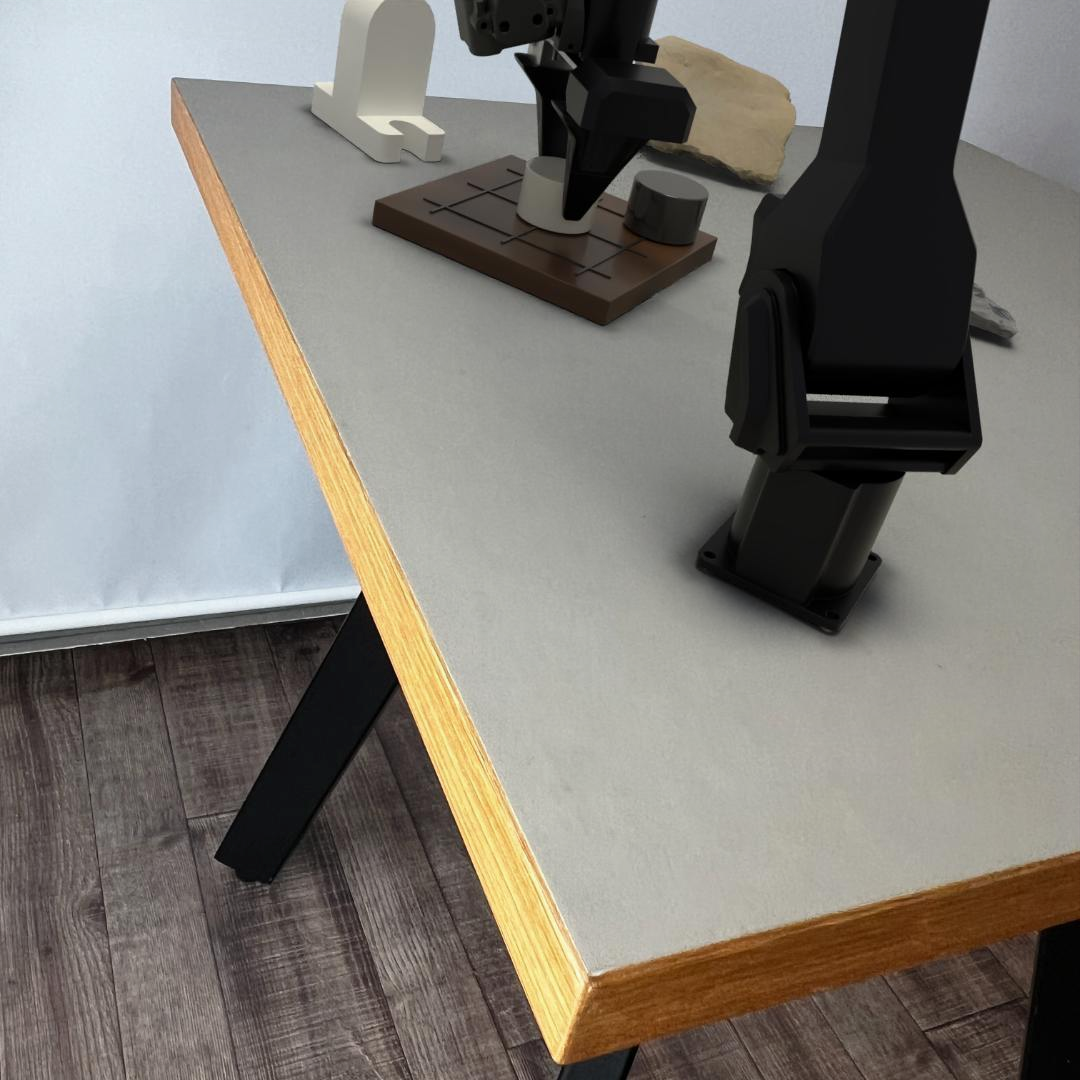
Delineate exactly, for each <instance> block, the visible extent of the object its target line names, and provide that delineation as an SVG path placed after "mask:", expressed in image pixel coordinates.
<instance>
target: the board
mask: <svg viewBox="0 0 1080 1080" xmlns="http://www.w3.org/2000/svg"><path fill="white" fill-rule="evenodd" d="M527 161H528V160H526V159H524V158H521V157H519V156H517V155H514V154H509V155H506V156H502V157H499V158H495V159H494V160H491V161H488V162H485V163H482V164H479V165H476V166H472V167H470V168H466V169H463V170H461V171H458V172H455V173H452V174H449V175H446V176H443V177H441V178H437V179H434V180H431V181H429V182H425V183H422V184H419V185H416V186H413V187H410V188H407V189H404V190H402V191H398V192H395V193H393V194H389V195H387V196H384V197H381V198H378V199H375V200H374V206H373V213H372V219H371V224H372V225H374V226H376V227H378V228H381V229H383V230H385V231H388V232H389V233H391V234H394V235H397V236H399V237H401V238H403V239H405V240H407V241H410V242H412V243H415V244H417V245H419V246H422V247H424V248H426V249H428V250H431V251H433V252H435V253H437V254H440V255H442V256H443V257H446V258H448V259H451V260H453V261H456V262H458V263H460V264H462V265H465V266H467V267H469V268H471V269H474V270H476V271H478V272H481V273H483V274H485V275H487V276H490V277H492V278H494V279H496V280H499V281H501V282H504V283H506V284H507V285H510V286H512V287H515V288H517V289H520V290H522V291H524V292H526V293H527V294H530V295H533V296H536V297H538V298H540V299H542V300H545V301H546V302H549V303H551V304H554V305H556V306H558V307H560V308H562V309H565V310H567V311H570V312H571V313H574V314H577V315H578V316H580V317H583V318H585V319H587V320H590V321H592V322H594V323H597V324H598V325H602V326H606V325H608V324H609V323H611V322H612V321H614V320H615V319H617V318H618V317H620V316H622V315H623V314H625V313H626V312H628V311H630V310H632V308H635V307H636V306H638V305H640V304H641V303H643V302H644V301H646V300H647V299H649V298H651V297H652V296H654V295H655V294H657V293H659V292H661V291H662V290H664V289H665V288H668V287H669V286H670V285H671V284H673V283H674V282H677V281H678V280H680V279H682V278H683V277H685V276H686V275H688V274H689V273H691V272H692V271H694V270H696V269H697V268H699V267H700V266H702V265H703V264H706V263H707V262H709V261H711V260H712V259H713V257H714V253H715V250H716V246H717V243H718V240H719V237H718V236H715V235H712V234H710V233H708V232H706V231H703V230H700V229H699V231H698V234H697V237H696V240H695V241H694V242H693V243H690V244H685V245H673V244H666V243H661V242H657V241H653V240H650V239H647V238H645V237H642V236H640V235H638V234H636V233H634V232H633V231H631V230H630V229H629V228H628V227H627V226H626V225H625V224H624V221H623V219H624V215H625V211H626V207H627V203H628V200H626V199H623V198H621V197H618V196H615V195H613V194H610V193H608V192H606V191H604V192H603V193H602V195H601V196H600V198H599V202H598V206H597V210H596V214H595V218H594V222H593V226H592V228H591V229H590V230H589V231H588V232H585V233H580V234H565V233H558V232H553V231H549V230H545V229H542V228H539V227H537V226H535V225H532V224H530V223H528V222H527V221H525V220H524V219H522V218H521V217H520V216H519V215H518V213H517V204H518V200H519V195H520V190H521V185H522V181H523V176H524V171H525V167H526V162H527Z"/></svg>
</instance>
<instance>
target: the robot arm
mask: <svg viewBox="0 0 1080 1080" xmlns="http://www.w3.org/2000/svg"><path fill="white" fill-rule="evenodd" d="M453 2H454V3H453V4H454V9H455V15H456V21H457V27H458V33H459V39H460V40H461V41H462V42H464V43H465V44H466V46H467V49H468V51H469V53H470V54H471V55H472V56H475V57H479V58H481V57H483V58H484V57H485V58H486V57H493V56H497V55H500V54H501V53H502V52H503V50H508V49H511V48H516V47H520V46H524V45H528V46H527V52H518V51H517V52H514V53H513V57H514V60H515V61H516V63H517V64H518V66H519V67H520V69H521V70H522V72H523V73H524V75H525V76H526V77H527V79H528V80H529V82H530V84H531V85H532V88H533V89H534V92H535V101H536V102H535V105H536V121H537V122H536V123H537V124H536V125H537V145H538V146H537V147H538V148H537V149H538V157H540V156H548V157H558V158H563V159H566V165H565V176H564V187H563V202H562V216H563V218H564V219H565V220H570V221H579V220H581V219H582V218H583V216H584V215H585V214H586V213H587V212H588V210H589V209H590V208H591V207H592V205H593V204H594V203H595V202H596V201H597V199H598V198H599V197H600V196H601V195H602V193H603V192H606V190H607V189H608V188H609V186H610V185H611V184H612V183H613V181H614V180H615V179H616V178H617V177H618V176H619V175H620V173H621V172H622V170H623V169H624V168H625V167H627V165H628V164H629V163H630V162H631V161H632V160H633V159H634V158H635V156H637V154H638V153H639V152H640V151H641V150H642V149H643V148H644V147H645V146H647V145H646V144H647V143H648V141H649V140H655V141H662V142H670V143H677V144H683V143H685V142H687V141H688V138H689V134H690V131H691V127H692V124H693V120H694V116H695V113H696V109H697V107H696V105H695V103H694V101H693V100H692V98H691V96H690V94H689V92H688V91H687V89H686V87H684V86H683V85H682V84H681V83H680V82H679V81H678V80H677V79H676V78H675V77H674V76H672V75H671V74H670V73H669V72H668V71H667V70H666V69H665V68H658V67H652V66H646V65H639V64H635V63H634V62H635V61H638V62H645V63H651V64H655V62H656V58H657V54H658V50H659V45H658V44H657V43H656V42H655V41H654V39H652V38H651V37H650V33H651V29H652V25H653V23H654V18H655V15H656V11H657V7H658V3H659V0H453ZM990 4H991V0H846V4H845V9H844V14H843V19H842V25H841V30H840V35H839V41H838V46H837V52H836V56H835V62H834V66H833V67H834V68H833V72H832V80H831V83H830V89H829V95H828V99H827V106H826V111H825V116H824V121H823V127H822V132H821V138H820V142H819V147H818V149H817V153H816V155H815V157H814V159H812V161H811V162H810V163H809V165H808V166H807V167H806V169H804V171H803V172H802V173H801V175H800V176H799V177H798V178H797V180H796V181H794V184H793V185H792V186H791V187H790V188H789V190H788V191H787V192H786V193H785V194H784V193H776V192H767V193H766V194H764V196H763V197H762V199H761V200H760V202H759V204H758V205H757V207H756V209H755V211H754V213H753V216H752V217H753V218H752V228H751V241H750V248H749V255H748V259H747V264H746V267H745V271H744V274H743V277H742V280H741V282H740V284H739V288H738V289H737V290H738V291H737V292H738V296H739V298H738V301H737V308H736V315H735V324H734V331H733V337H732V345H731V353H730V358H729V366H728V374H727V381H726V388H725V399H724V407H723V408H724V413H725V414H726V416H727V417H728V418H729V420H730V421H731V423H733V424H732V427H731V430H730V433H729V435H728V438H729V439H730V441H731V442H732V443H733V445H734V446H735V447H737V448H740V449H742V450H744V451H747V452H749V453H751V454H752V455H754V456H756V457H755V460H754V462H753V465H752V468H751V471H750V473H749V476H748V479H747V481H746V483H745V487H744V490H743V492H742V495H741V498H740V500H739V502H738V506H737V509H735V511H734V512H733V513H732V514H731V515H730V516H729V517H728V518H727V519H726V520H725V521H724V522H723V523H722V525H721V526H720V527H719V528H718V529H717V530H716V531H715V532H714V533H713V534H712V535H711V537H710V538H709V539H708V540H707V541H705V543H704V544H703V545H702V546H701V547H700V548H699V549H698V551H697V555H696V557H695V563H696V564H697V565H698V566H699V567H700V568H702V569H703V570H705V571H708V572H709V573H711V574H714V575H716V576H718V577H720V578H722V579H724V580H726V581H728V582H730V583H732V584H734V585H736V586H738V587H739V588H742V589H744V590H746V591H748V592H750V593H752V594H753V595H756V596H758V597H760V598H762V599H764V600H766V601H767V602H768V601H769V602H771V603H772V604H774V605H776V606H779V607H780V608H783V609H784V610H787V611H788V612H790V613H792V614H795V615H797V616H799V617H801V618H803V619H805V620H806V621H809V622H811V623H812V624H814V625H816V626H819V627H821V628H823V629H825V630H827V631H832V632H838V631H840V630H841V629H842V628H843V626H844V624H845V623H846V621H847V620H848V618H849V617H850V615H851V613H852V612H853V610H854V609H855V607H856V606H857V604H858V603H859V601H860V599H861V598H862V597H863V595H864V593H865V591H866V590H867V588H868V587H869V585H870V584H871V582H872V581H873V579H874V577H875V576H876V574H877V573H878V571H879V569H880V567H881V565H882V563H883V559H882V558H881V556H880V555H879V554H877V553H876V552H874V551H872V549H873V547H874V545H875V543H876V540H877V539H878V536H879V534H880V532H881V529H882V527H883V525H884V522H885V520H886V519H887V516H888V514H889V512H890V509H891V507H892V505H893V502H894V500H895V498H896V497H897V494H898V491H899V489H900V487H901V485H902V483H903V480H904V479H905V476H906V473H935V474H936V473H939V474H941V475H942V476H955V475H956V474H958V472H960V470H961V469H962V468H964V466H965V465H966V464H967V463H968V462H969V461H970V460H971V459H972V458H973V457H974V455H976V453H978V451H980V449H981V447H982V446H983V445H982V444H983V440H984V439H983V431H982V421H981V415H980V407H979V406H980V405H979V397H978V389H977V381H976V374H975V365H974V364H975V363H974V357H973V348H972V339H971V331H970V325H969V322H970V313H971V304H972V296H973V287H974V283H975V277H976V271H977V269H976V268H977V262H978V261H977V260H978V248H977V243H976V240H975V238H974V233H973V231H972V228H971V224H970V222H969V219H968V215H967V211H966V209H965V205H964V203H963V199H962V196H961V193H960V190H959V186H958V183H957V181H956V180H957V179H956V177H955V166H956V159H957V158H956V157H957V154H958V149H959V144H960V140H961V135H962V132H963V131H962V130H963V126H964V122H965V117H966V112H967V109H968V103H969V100H970V99H969V98H970V94H971V90H972V85H973V81H974V77H975V72H976V68H977V64H978V59H979V55H980V49H981V45H982V40H983V36H984V31H985V27H986V22H987V18H988V13H989V9H990V6H991V5H990ZM807 395H819V396H823V395H824V396H847V397H873V398H874V397H875V398H887V402H886V403H885V402H859V401H835V400H810V399H809V400H808V396H807Z"/></svg>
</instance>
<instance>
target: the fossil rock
mask: <svg viewBox="0 0 1080 1080" xmlns="http://www.w3.org/2000/svg"><path fill="white" fill-rule="evenodd" d="M969 326H972V327H976V328H978V329H981V330H985V331H987V332H990V333H993V334H995V335H998V336H1000V337H1002V338H1006V339H1012V338H1014V337H1015V336H1016V334H1018V333H1019V329H1018V327H1017V321H1016V319H1015V318H1014V317H1013V316H1012V314H1011V313H1010V312H1009V310H1007V309H1005V308H1003V307H1002V306H1001V305H999V304H998V303H997V302H995V300H993V299H991V298H989V297H988V296H987V295H986V292H985V291H984V289H983V287H980V286H979V284H978V283H976V282H974V287H973V296H972V304H971V313H970V322H969Z"/></svg>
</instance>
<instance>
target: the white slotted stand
mask: <svg viewBox="0 0 1080 1080" xmlns="http://www.w3.org/2000/svg"><path fill="white" fill-rule="evenodd" d="M436 26H437V25H436V19H435V14H434V12H433V10H432V8H431V5H430V4H429V2H428V1H426V0H345V3H344V5H343V7H342V13H341V19H340V26H339V34H338V35H339V36H338V45H337V51H336V60H335V69H334V78H333V81H315V82H314V83H313V84H314V85H313V93H312V101H311V102H312V103H311V112H310V113H312V114H313V115H314V116H316V117H317V118H318V119H319V120H321V121H322V122H324V123H325V124H326V125H328V126H329V127H330V128H331V129H333V130H334V131H335V132H337V133H338V134H339V135H341V136H342V137H343V138H345V139H346V140H347V141H349V142H350V143H351V144H352V145H354V146H356V147H357V148H358V149H360V151H362V152H363V153H365V154H366V155H368V156H369V157H370V158H371V159H373V160H375V161H376V162H379V163H385V164H386V163H387V164H388V163H400V162H401V155H402V150H406V151H408V152H409V153H411V154H413V155H414V156H415V157H417V158H419V159H420V160H421V161H422V162H423V163H424V162H440V161H441V160H442V155H443V148H444V143H445V138H446V137H445V136H446V131H445V130H443V129H442V128H441V127H439V126H437V125H436V124H435V123H433V122H432V121H430V120H429V119H427V118H426V117H424V116H423V113H424V106H425V101H426V94H427V88H428V83H429V76H430V69H431V63H432V57H433V50H434V45H435V40H436V39H435V38H436Z"/></svg>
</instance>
